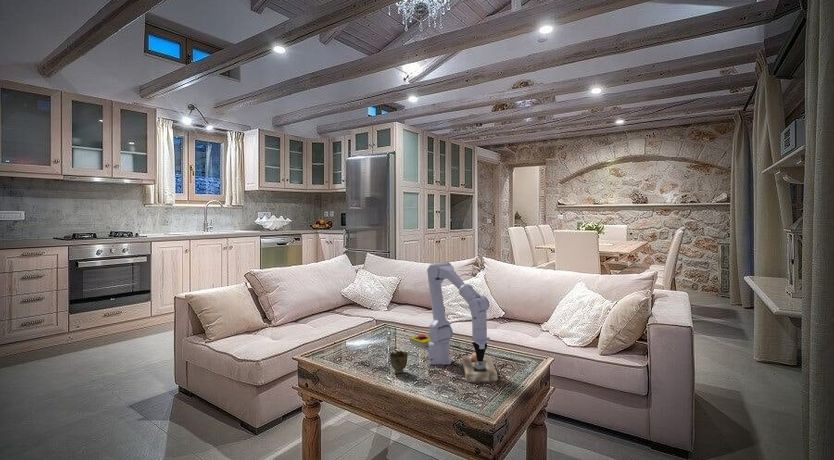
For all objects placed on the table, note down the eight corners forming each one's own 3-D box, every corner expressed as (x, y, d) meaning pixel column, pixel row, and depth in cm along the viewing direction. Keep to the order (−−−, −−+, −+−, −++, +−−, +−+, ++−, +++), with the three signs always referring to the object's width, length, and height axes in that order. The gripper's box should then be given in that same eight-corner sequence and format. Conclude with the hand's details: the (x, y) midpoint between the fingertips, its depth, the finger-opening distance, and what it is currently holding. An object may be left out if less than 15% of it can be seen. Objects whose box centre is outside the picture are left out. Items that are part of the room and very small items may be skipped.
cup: (394, 377, 160) (394, 357, 160) (387, 371, 167) (386, 352, 167) (411, 373, 164) (410, 354, 164) (403, 367, 170) (403, 349, 170)
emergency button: (420, 331, 211) (439, 337, 200) (420, 339, 211) (440, 346, 200) (406, 334, 205) (426, 341, 194) (407, 343, 205) (426, 350, 194)
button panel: (466, 381, 155) (466, 374, 155) (462, 362, 175) (462, 356, 175) (497, 381, 154) (497, 373, 154) (489, 362, 174) (489, 355, 174)
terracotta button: (472, 363, 167) (472, 356, 167) (471, 359, 172) (471, 352, 172) (483, 363, 167) (482, 356, 167) (481, 359, 172) (481, 352, 171)
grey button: (475, 372, 157) (475, 364, 157) (474, 368, 162) (473, 360, 162) (486, 372, 157) (486, 364, 157) (484, 368, 162) (484, 360, 161)
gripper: (492, 332, 151) (493, 367, 152) (486, 322, 166) (487, 354, 166) (473, 332, 152) (474, 367, 152) (469, 322, 166) (470, 354, 167)
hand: (480, 361), depth 159 cm, fingers closed
